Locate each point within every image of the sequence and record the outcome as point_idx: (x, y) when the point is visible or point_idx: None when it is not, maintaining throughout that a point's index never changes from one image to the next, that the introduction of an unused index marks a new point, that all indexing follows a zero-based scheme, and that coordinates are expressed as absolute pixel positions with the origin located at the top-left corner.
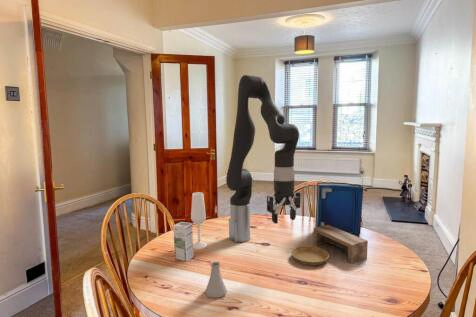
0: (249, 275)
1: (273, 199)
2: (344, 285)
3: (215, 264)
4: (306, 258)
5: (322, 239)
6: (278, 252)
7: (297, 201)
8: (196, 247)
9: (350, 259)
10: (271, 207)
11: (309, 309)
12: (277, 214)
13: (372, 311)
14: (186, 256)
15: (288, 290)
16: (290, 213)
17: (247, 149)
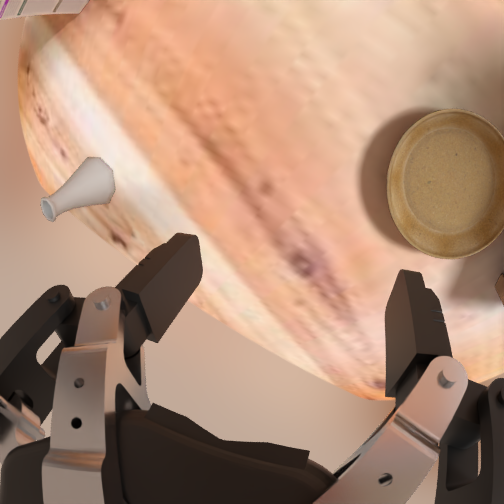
0: (184, 144)
1: (28, 439)
2: (374, 330)
3: (51, 198)
4: (445, 172)
5: None
6: (393, 49)
7: (442, 496)
8: None
9: (500, 288)
10: (56, 373)
11: (238, 326)
12: (158, 337)
13: (327, 379)
14: (69, 11)
15: (241, 267)
16: (406, 317)
17: None
